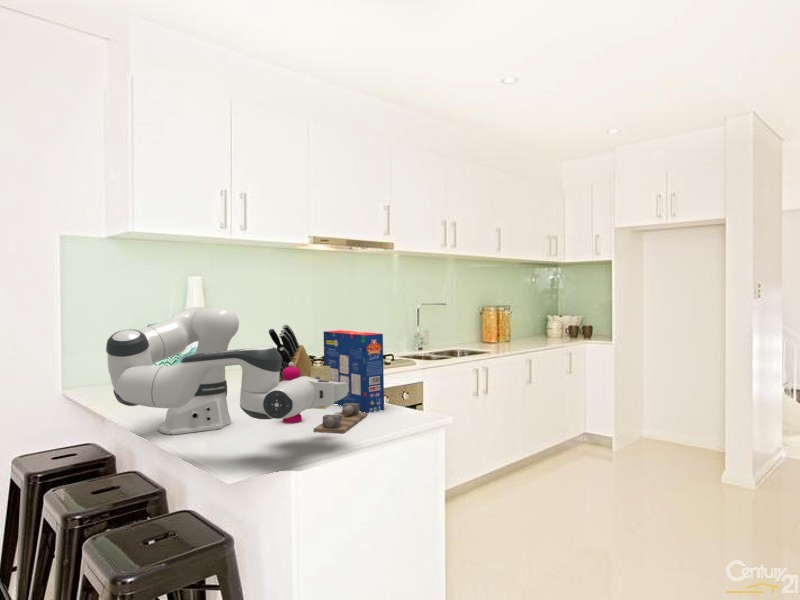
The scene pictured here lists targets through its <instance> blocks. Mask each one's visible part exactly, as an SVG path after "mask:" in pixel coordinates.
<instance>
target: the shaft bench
mask: <svg viewBox="0 0 800 600" xmlns="http://www.w3.org/2000/svg"><path fill="white" fill-rule="evenodd" d="M368 414H369V413H363V412H359V403H345V404H343V407H342V410H341V411H340V412H339V411H338V412H335V413H333V414H325V415H323V416H322V423H321V424H318V425H317V426H316V427H314V428H313V433H325V432H326V433H329V434H345V433H347V432H348V431H349V430H351V429H352V428H353V427H354V425H355V426H356V425H357V424H359V423H360V422H362V421H363V420H364V419H365V418H367V417H368V416H367V415H368ZM366 416H367V417H366ZM363 418H364V419H363ZM362 419H363V420H362ZM358 422H359V423H358ZM350 428H351V429H350ZM346 431H347V432H346Z"/></svg>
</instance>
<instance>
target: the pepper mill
mask: <svg viewBox="0 0 800 600" xmlns="http://www.w3.org/2000/svg"><path fill="white" fill-rule="evenodd" d="M293 366H294V363H293V362H290V363H289V367H287V368H285V369H284V370H283V373H282V377H283V379H284V380H285V381H291V380H293V379H296V378H299V377H300V370H299V369H298V368H296V367H293ZM301 413H302V412H300V413H299V414H297V415H295V416H292V417H289V418H285V419H282V422H283V423H284V424H296V423H300V422H302V421H303V419H302V418H303V417H302V415H301Z"/></svg>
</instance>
